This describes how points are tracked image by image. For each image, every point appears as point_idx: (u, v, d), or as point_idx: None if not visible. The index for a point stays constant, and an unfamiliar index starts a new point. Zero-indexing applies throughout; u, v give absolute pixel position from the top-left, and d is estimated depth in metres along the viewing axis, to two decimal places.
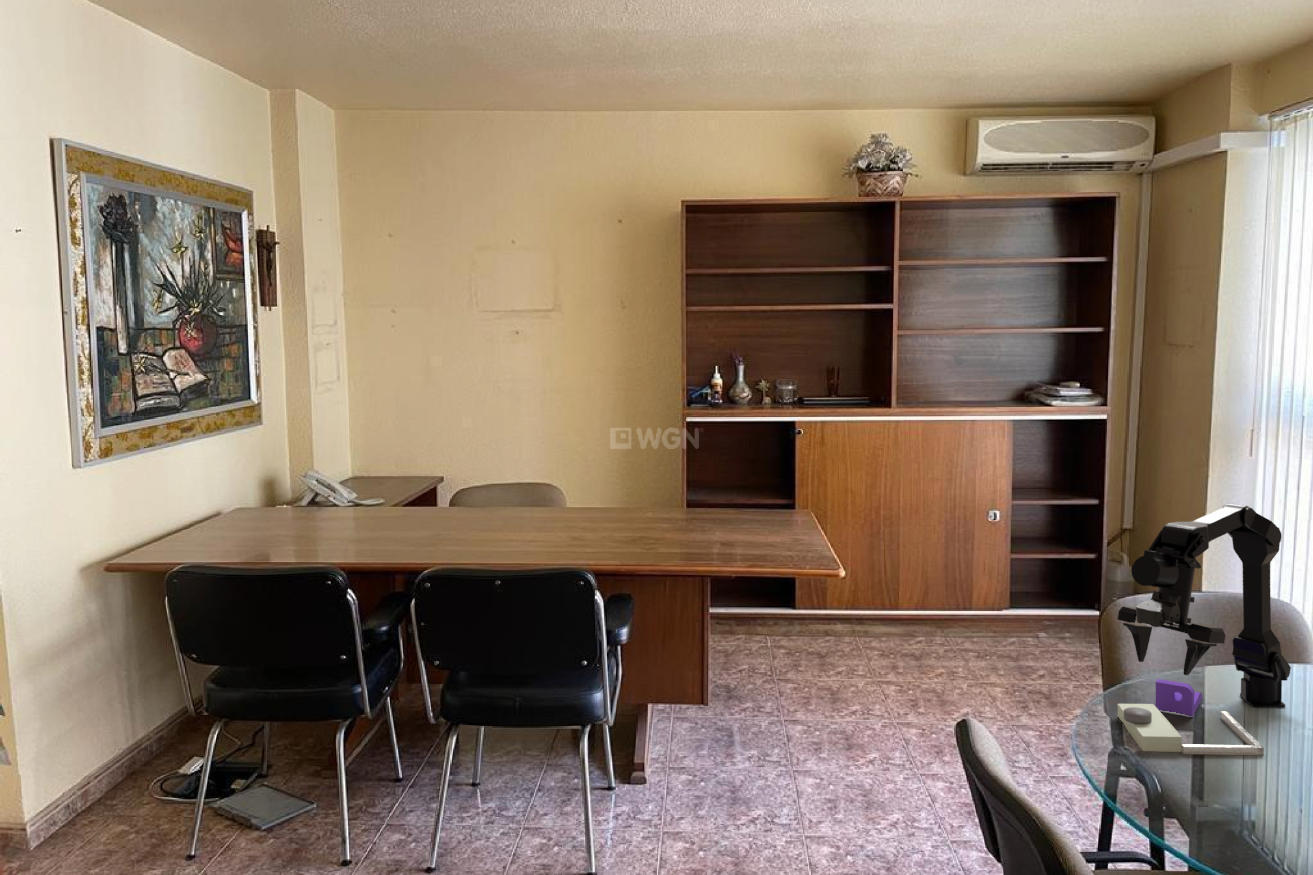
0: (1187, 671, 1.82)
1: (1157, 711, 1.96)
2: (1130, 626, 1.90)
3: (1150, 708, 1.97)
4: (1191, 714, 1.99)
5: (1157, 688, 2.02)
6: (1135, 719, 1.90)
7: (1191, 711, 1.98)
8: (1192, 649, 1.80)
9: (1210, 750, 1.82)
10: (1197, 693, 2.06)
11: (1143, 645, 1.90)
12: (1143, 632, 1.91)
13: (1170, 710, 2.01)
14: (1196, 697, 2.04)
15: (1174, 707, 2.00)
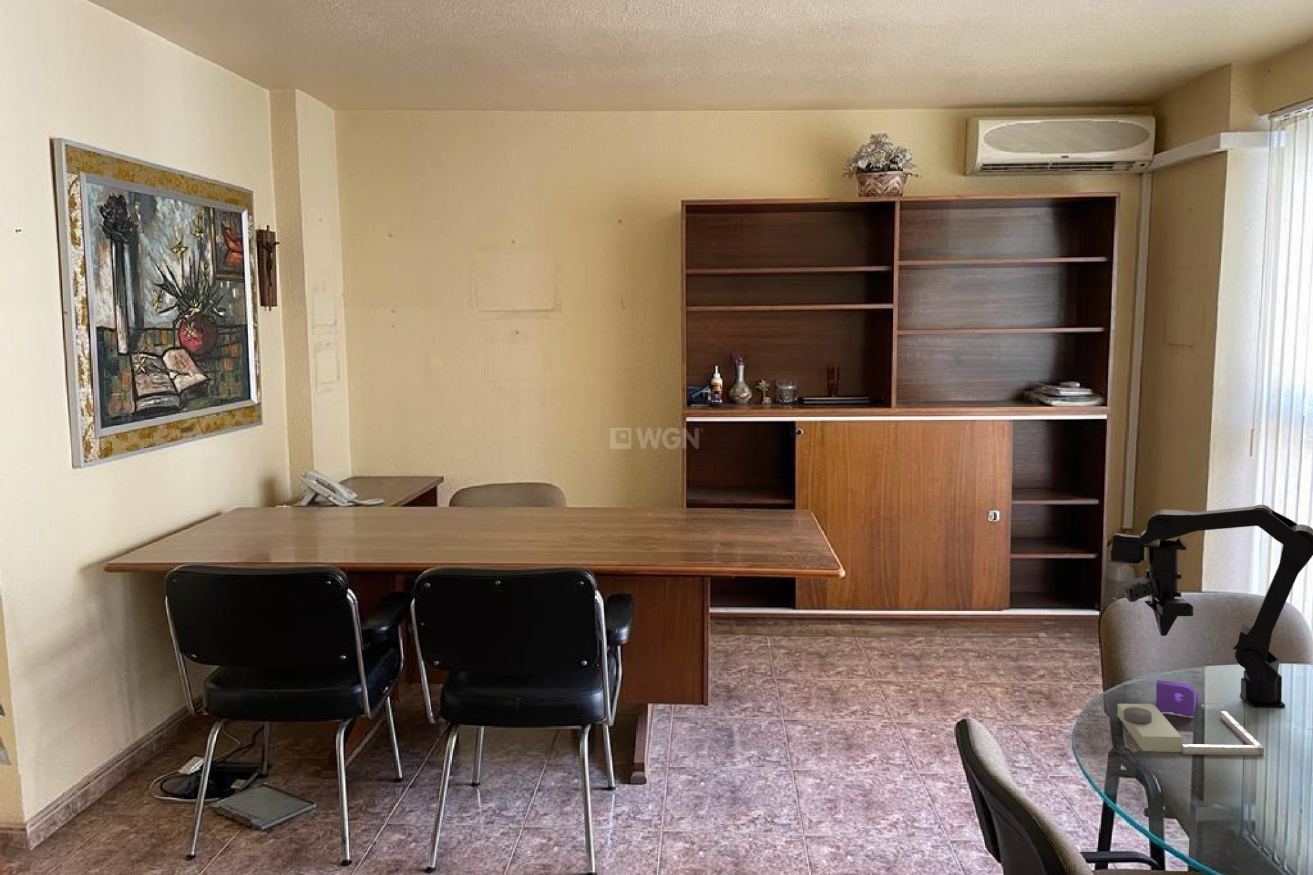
0: (1162, 632, 2.13)
1: (1157, 711, 1.96)
2: (1147, 604, 2.15)
3: (1150, 708, 1.97)
4: (1192, 715, 1.98)
5: (1158, 689, 2.01)
6: (1135, 719, 1.90)
7: (1192, 712, 1.98)
8: (1158, 614, 2.12)
9: (1210, 750, 1.82)
10: (1194, 693, 2.06)
11: None
12: None
13: (1171, 711, 2.00)
14: (1194, 697, 2.04)
15: (1175, 708, 2.00)
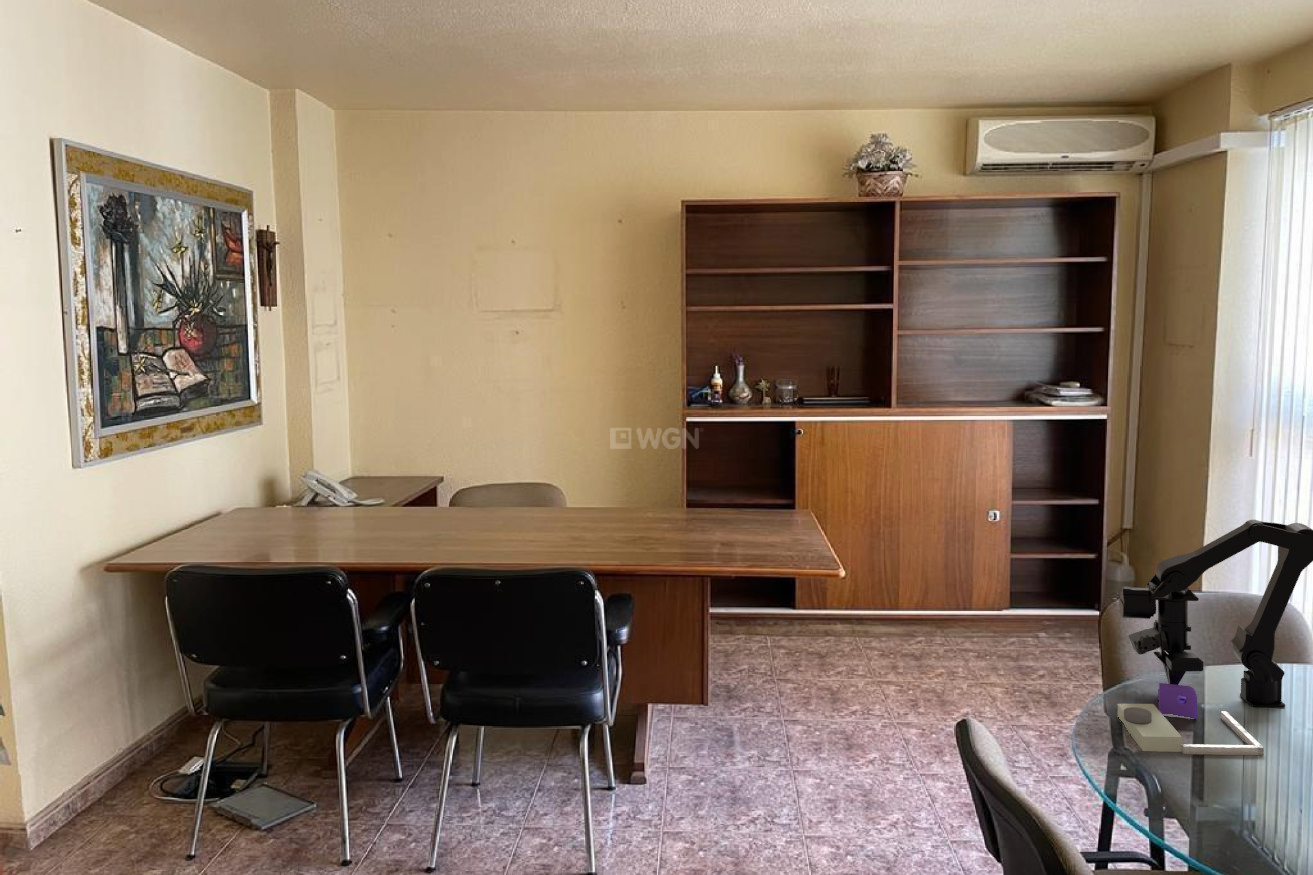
0: None
1: (1157, 711, 1.96)
2: (1156, 656, 2.11)
3: (1150, 708, 1.97)
4: (1196, 717, 1.97)
5: (1161, 692, 2.00)
6: (1135, 719, 1.90)
7: (1196, 713, 1.97)
8: (1167, 667, 2.07)
9: (1210, 750, 1.82)
10: None
11: None
12: None
13: (1174, 714, 1.99)
14: None
15: (1178, 710, 1.99)
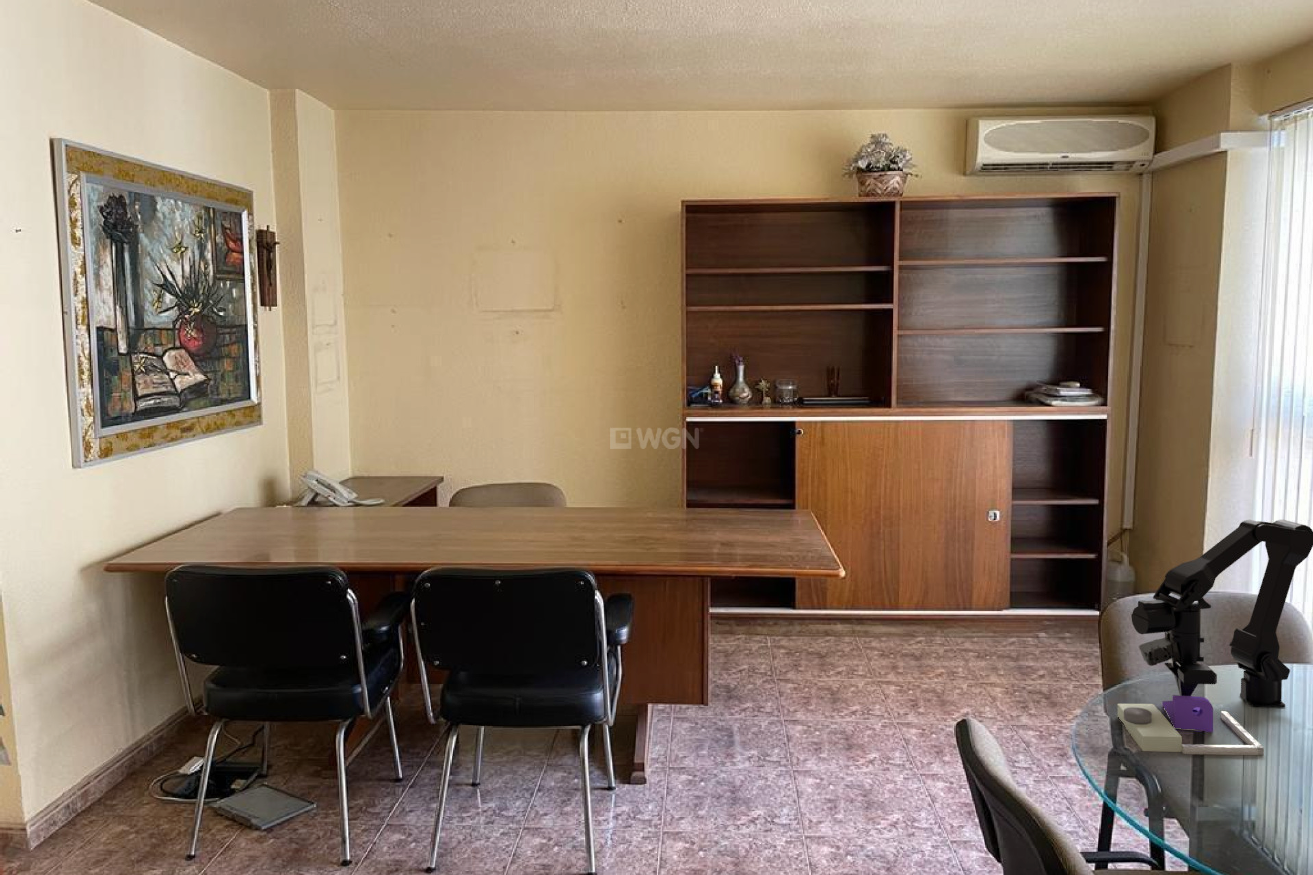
0: None
1: (1157, 711, 1.96)
2: (1167, 667, 2.04)
3: (1150, 708, 1.97)
4: (1212, 728, 1.92)
5: (1176, 705, 1.93)
6: (1135, 719, 1.90)
7: (1212, 725, 1.92)
8: (1178, 679, 2.00)
9: (1210, 750, 1.82)
10: None
11: None
12: None
13: (1190, 727, 1.93)
14: None
15: (1194, 723, 1.92)
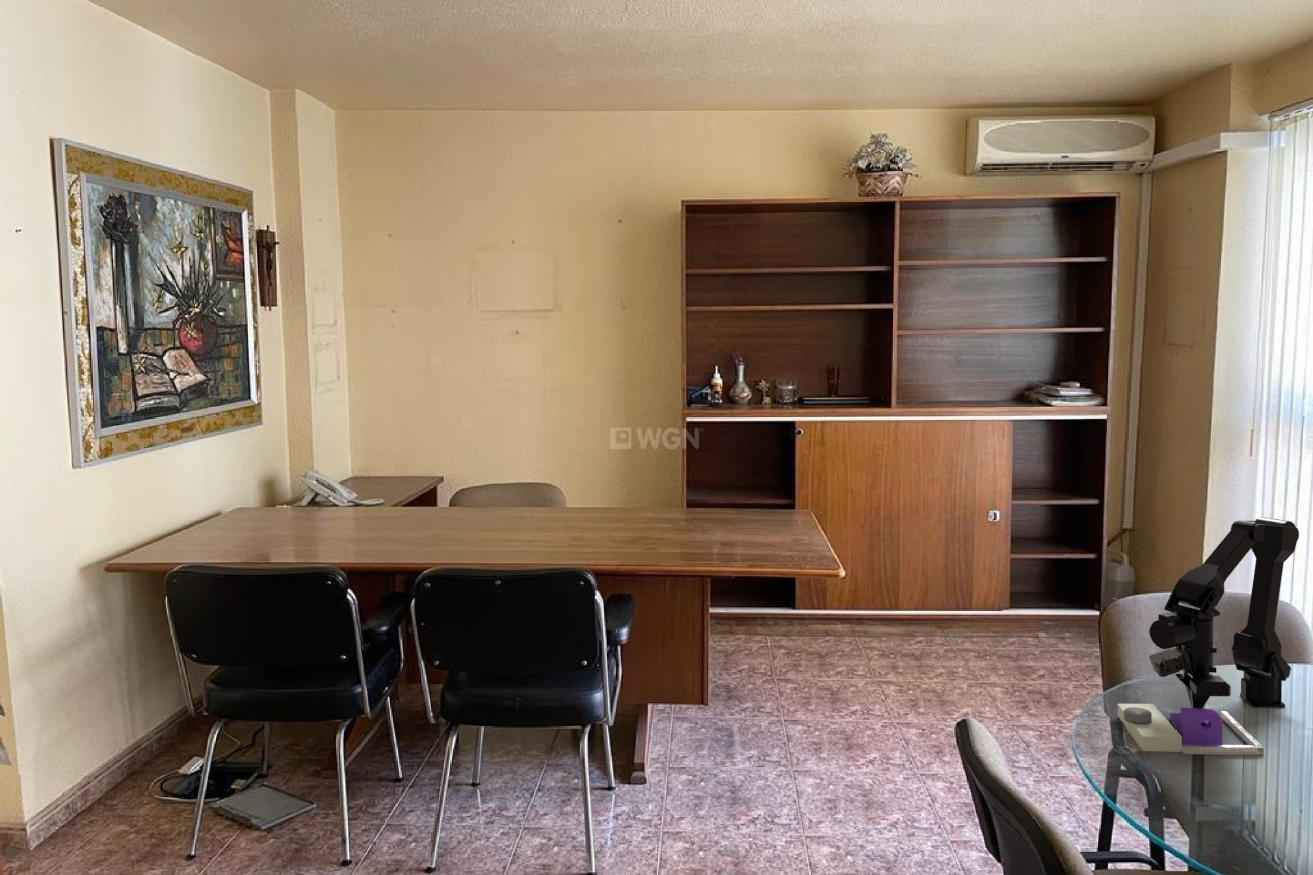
0: None
1: (1157, 711, 1.96)
2: (1178, 678, 1.97)
3: (1150, 708, 1.97)
4: (1221, 742, 1.86)
5: (1184, 718, 1.87)
6: (1135, 719, 1.90)
7: (1221, 739, 1.85)
8: (1190, 691, 1.94)
9: (1210, 750, 1.82)
10: None
11: None
12: None
13: (1198, 740, 1.87)
14: None
15: (1203, 736, 1.86)
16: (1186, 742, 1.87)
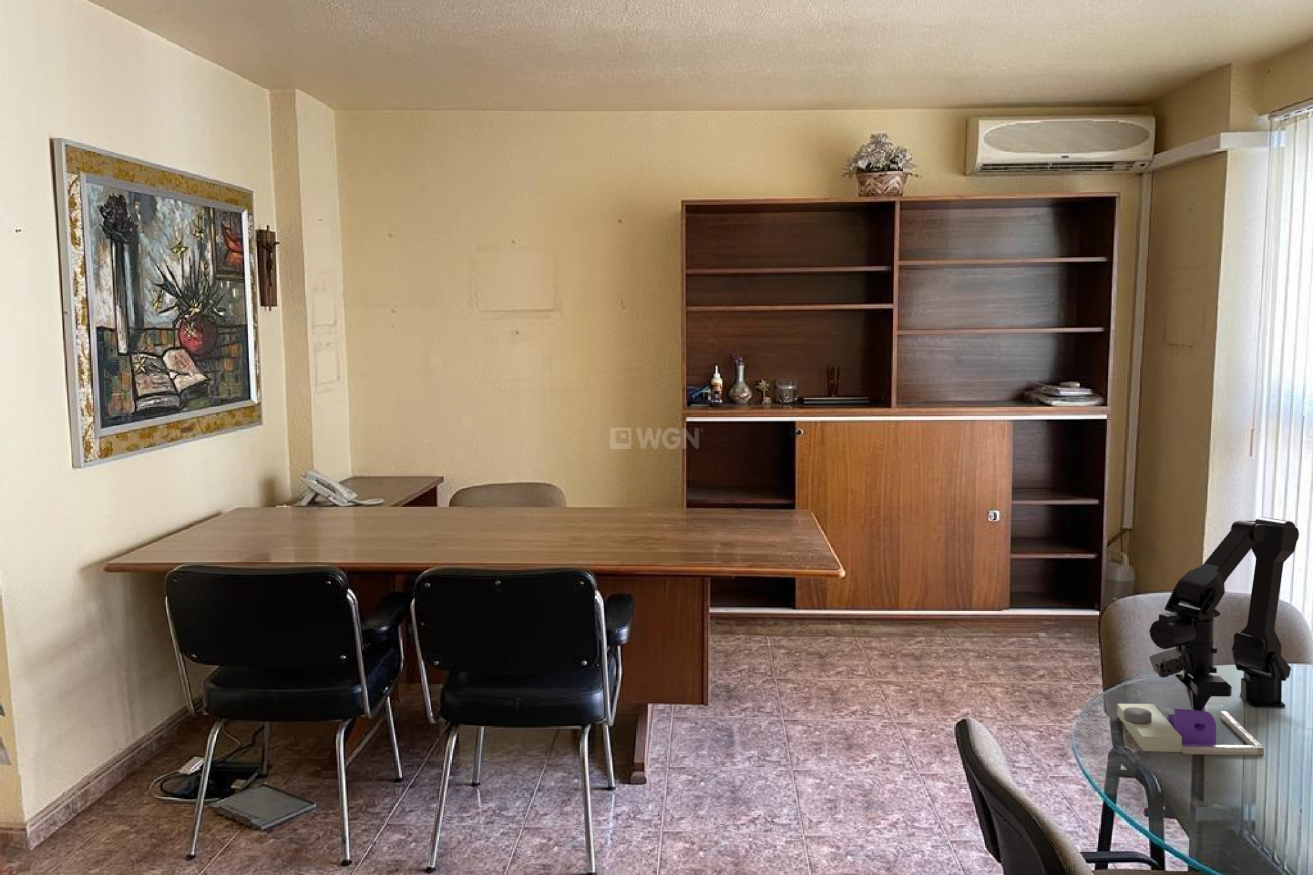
0: None
1: (1157, 711, 1.96)
2: None
3: (1150, 708, 1.97)
4: (1214, 744, 1.85)
5: (1177, 719, 1.87)
6: (1135, 719, 1.90)
7: (1214, 741, 1.85)
8: (1191, 691, 1.94)
9: (1210, 750, 1.82)
10: None
11: None
12: None
13: (1191, 742, 1.86)
14: None
15: (1196, 738, 1.86)
16: None
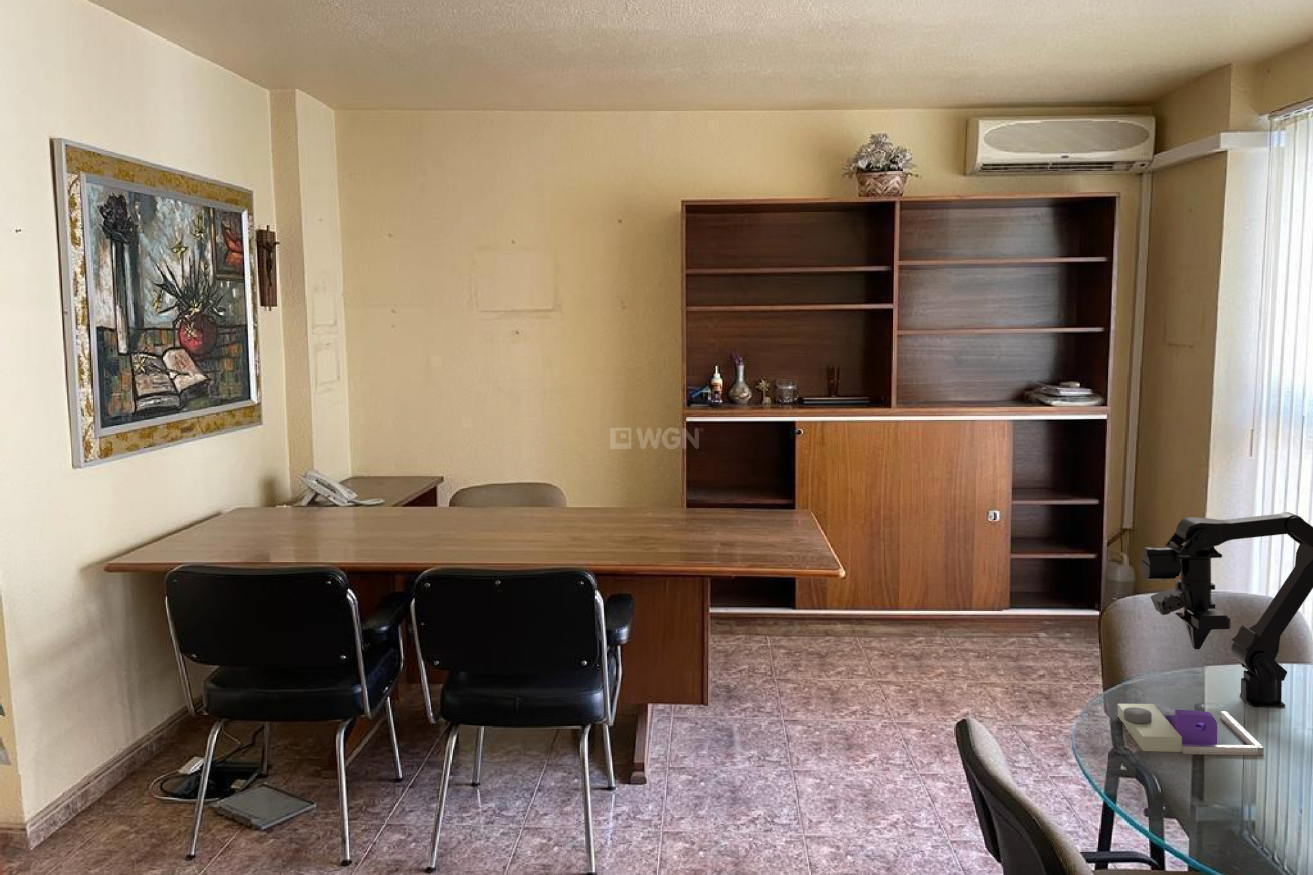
0: (1195, 646, 2.04)
1: (1157, 711, 1.96)
2: (1178, 616, 2.06)
3: (1150, 708, 1.97)
4: (1216, 744, 1.85)
5: (1179, 720, 1.86)
6: (1135, 719, 1.90)
7: (1216, 741, 1.84)
8: (1191, 627, 2.03)
9: (1210, 750, 1.82)
10: None
11: None
12: None
13: (1193, 742, 1.86)
14: None
15: (1197, 738, 1.85)
16: None
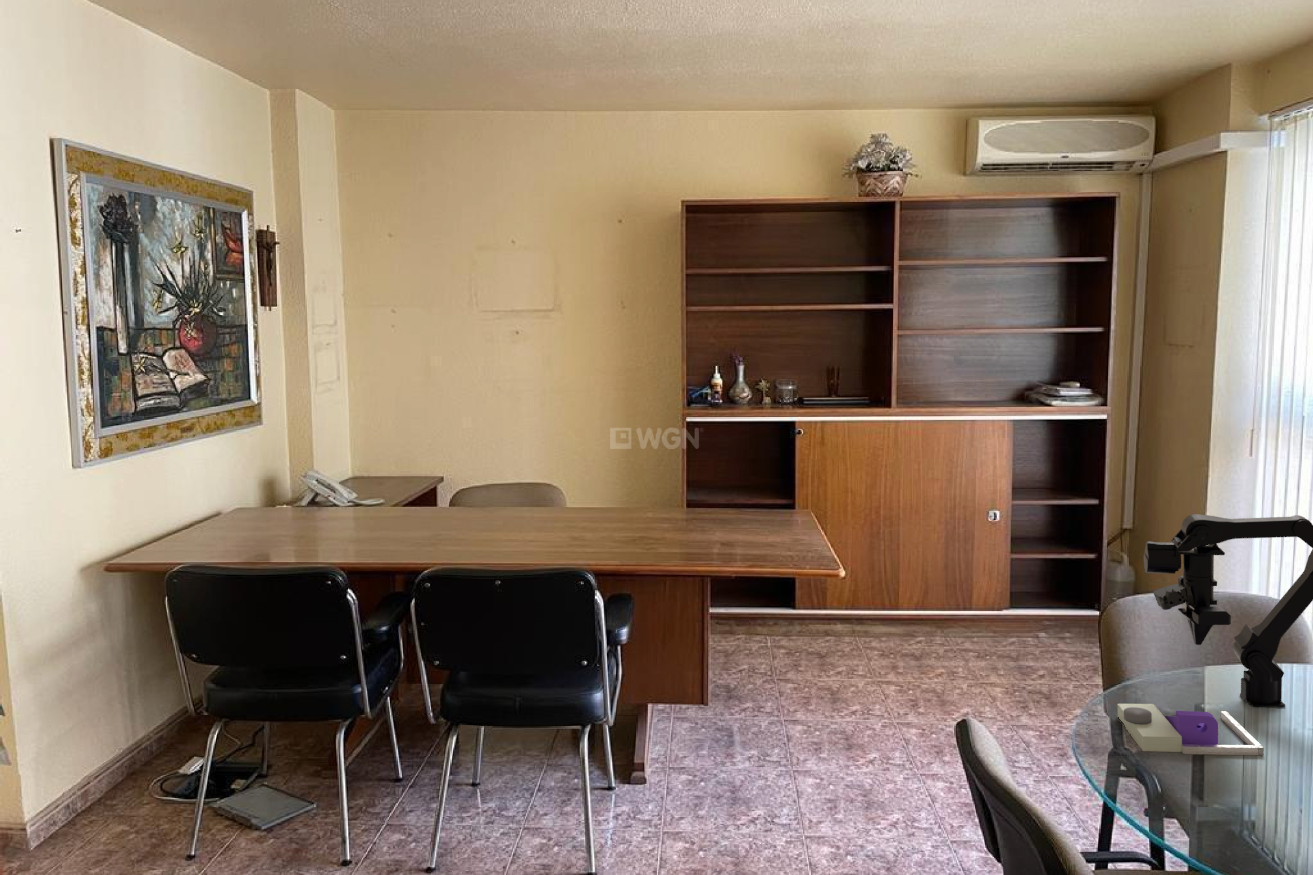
0: (1197, 641, 2.06)
1: (1157, 711, 1.96)
2: (1181, 612, 2.08)
3: (1150, 708, 1.97)
4: None
5: (1180, 721, 1.86)
6: (1135, 719, 1.90)
7: (1216, 742, 1.84)
8: (1192, 623, 2.05)
9: (1210, 750, 1.82)
10: None
11: None
12: None
13: (1194, 743, 1.85)
14: None
15: (1199, 739, 1.85)
16: None
